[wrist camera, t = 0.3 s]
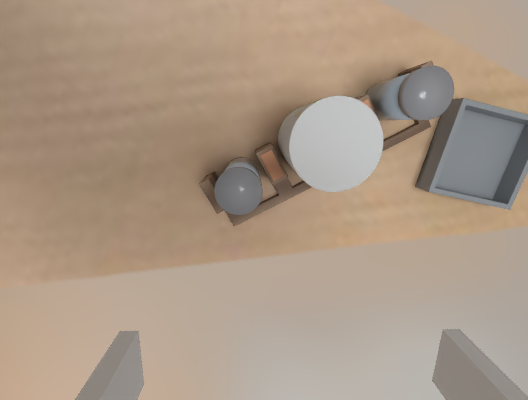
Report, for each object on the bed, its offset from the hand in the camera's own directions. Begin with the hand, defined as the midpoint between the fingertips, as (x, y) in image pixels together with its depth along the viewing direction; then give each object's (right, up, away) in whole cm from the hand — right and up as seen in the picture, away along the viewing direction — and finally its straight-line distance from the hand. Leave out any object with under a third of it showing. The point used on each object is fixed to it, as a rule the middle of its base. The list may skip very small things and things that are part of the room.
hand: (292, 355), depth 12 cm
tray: (+26, +13, +25) cm, 38 cm away
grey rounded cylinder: (+13, +19, +23) cm, 32 cm away
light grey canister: (+5, +15, +24) cm, 28 cm away
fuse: (-4, +10, +25) cm, 27 cm away
